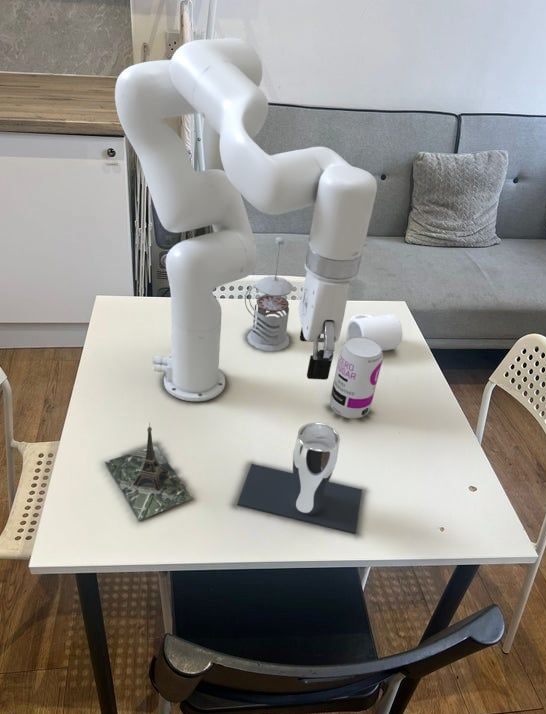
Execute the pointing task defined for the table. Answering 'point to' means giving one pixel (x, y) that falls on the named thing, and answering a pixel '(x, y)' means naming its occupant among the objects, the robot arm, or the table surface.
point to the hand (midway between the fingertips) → (313, 358)
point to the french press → (270, 328)
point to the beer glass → (313, 466)
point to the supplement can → (356, 377)
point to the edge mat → (271, 496)
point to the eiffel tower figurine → (148, 481)
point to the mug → (377, 329)
